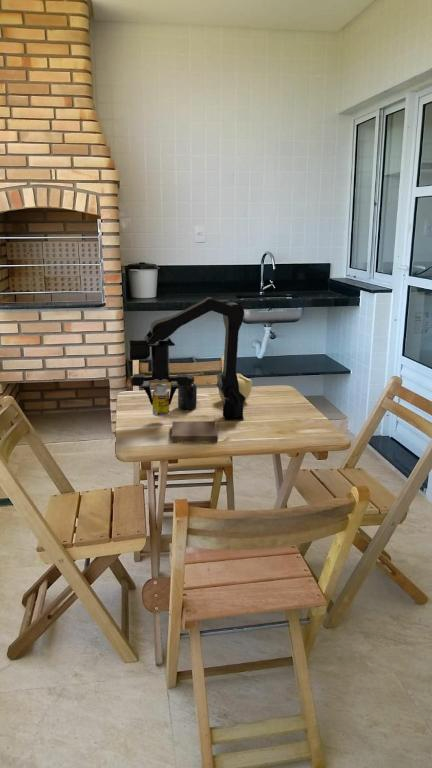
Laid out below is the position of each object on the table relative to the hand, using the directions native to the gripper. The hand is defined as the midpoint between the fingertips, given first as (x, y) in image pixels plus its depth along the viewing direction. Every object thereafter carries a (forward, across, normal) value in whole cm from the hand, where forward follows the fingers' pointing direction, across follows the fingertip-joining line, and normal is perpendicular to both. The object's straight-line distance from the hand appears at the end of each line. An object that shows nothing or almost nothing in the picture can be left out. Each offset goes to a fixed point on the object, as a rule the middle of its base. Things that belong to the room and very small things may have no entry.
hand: (160, 404), depth 197 cm
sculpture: (+7, -27, -24) cm, 37 cm away
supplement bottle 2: (+7, -9, -16) cm, 20 cm away
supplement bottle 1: (+4, 0, 0) cm, 4 cm away
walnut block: (+6, -11, +12) cm, 17 cm away
